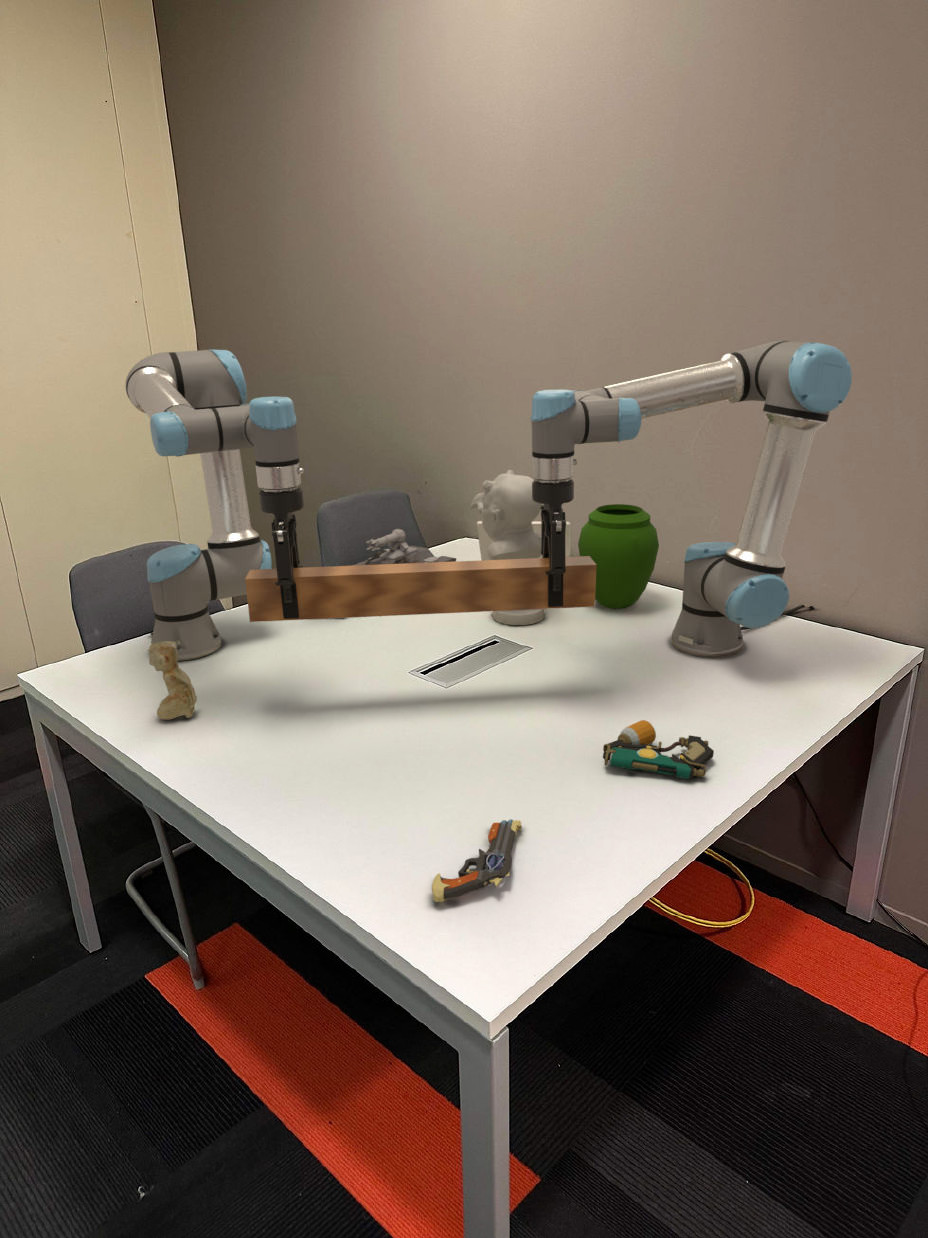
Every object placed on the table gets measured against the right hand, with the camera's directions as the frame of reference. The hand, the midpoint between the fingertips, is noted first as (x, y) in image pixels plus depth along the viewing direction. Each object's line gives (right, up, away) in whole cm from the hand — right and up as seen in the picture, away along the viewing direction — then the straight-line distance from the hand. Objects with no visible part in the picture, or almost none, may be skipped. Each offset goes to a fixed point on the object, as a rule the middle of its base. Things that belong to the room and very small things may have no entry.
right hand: (552, 600), depth 162 cm
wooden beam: (-24, -2, -2) cm, 24 cm away
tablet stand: (0, +9, +77) cm, 78 cm away
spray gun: (+16, -27, -19) cm, 37 cm away
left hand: (-48, -2, -4) cm, 49 cm away
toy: (-34, +7, +75) cm, 83 cm away
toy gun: (-15, -38, -44) cm, 60 cm away
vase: (+21, 0, +53) cm, 57 cm away
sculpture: (-71, -22, +1) cm, 75 cm away
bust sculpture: (-7, -2, +49) cm, 49 cm away
